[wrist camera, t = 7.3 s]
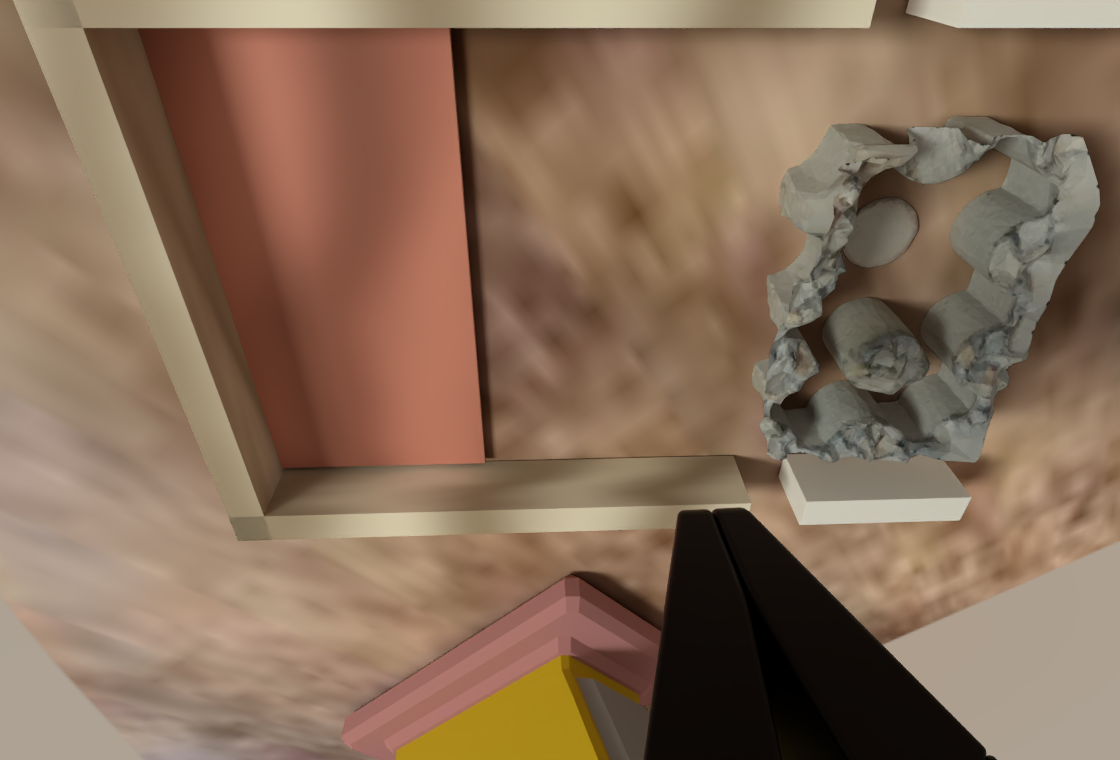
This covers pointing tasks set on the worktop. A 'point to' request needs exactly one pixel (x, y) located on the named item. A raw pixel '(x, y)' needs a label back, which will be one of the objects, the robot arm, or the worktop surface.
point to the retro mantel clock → (525, 688)
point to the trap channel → (337, 252)
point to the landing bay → (924, 481)
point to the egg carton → (952, 323)
